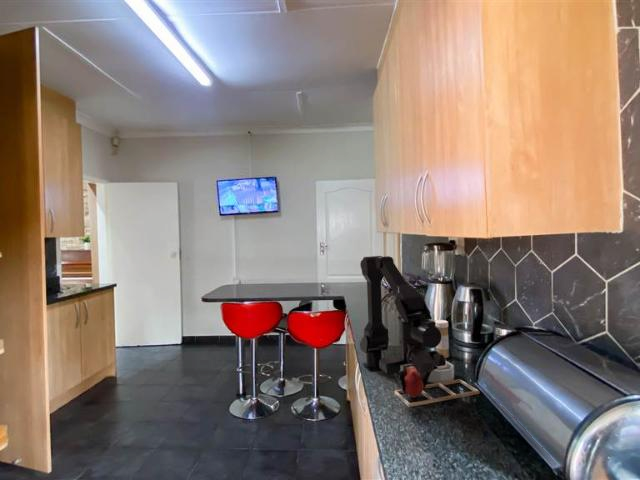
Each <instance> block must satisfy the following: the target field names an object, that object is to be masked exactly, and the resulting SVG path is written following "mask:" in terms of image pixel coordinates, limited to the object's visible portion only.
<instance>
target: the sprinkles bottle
mask: <svg viewBox="0 0 640 480" xmlns="http://www.w3.org/2000/svg"><path fill="white" fill-rule="evenodd" d="M435 327H437V328H438V329H439V331H440V333H441V341H440V343H439V344H438V346H436V347H435V348H436V351H437V352H439V353H440V354H442V355H444V357H445V359H446V358H447V359H448V358H449V357H450V353H449V349H450V348H449V344H450V343H449V321H447V320H444V319H438V320H435Z"/></svg>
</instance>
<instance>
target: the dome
mask: <svg viewBox="0 0 640 480" xmlns="http://www.w3.org/2000/svg"><path fill="white" fill-rule="evenodd" d="M447 362H448V361H447ZM447 362H446V365H444V366H438V368H437V369H435V370H445V369H449V365H448V364H447Z"/></svg>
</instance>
